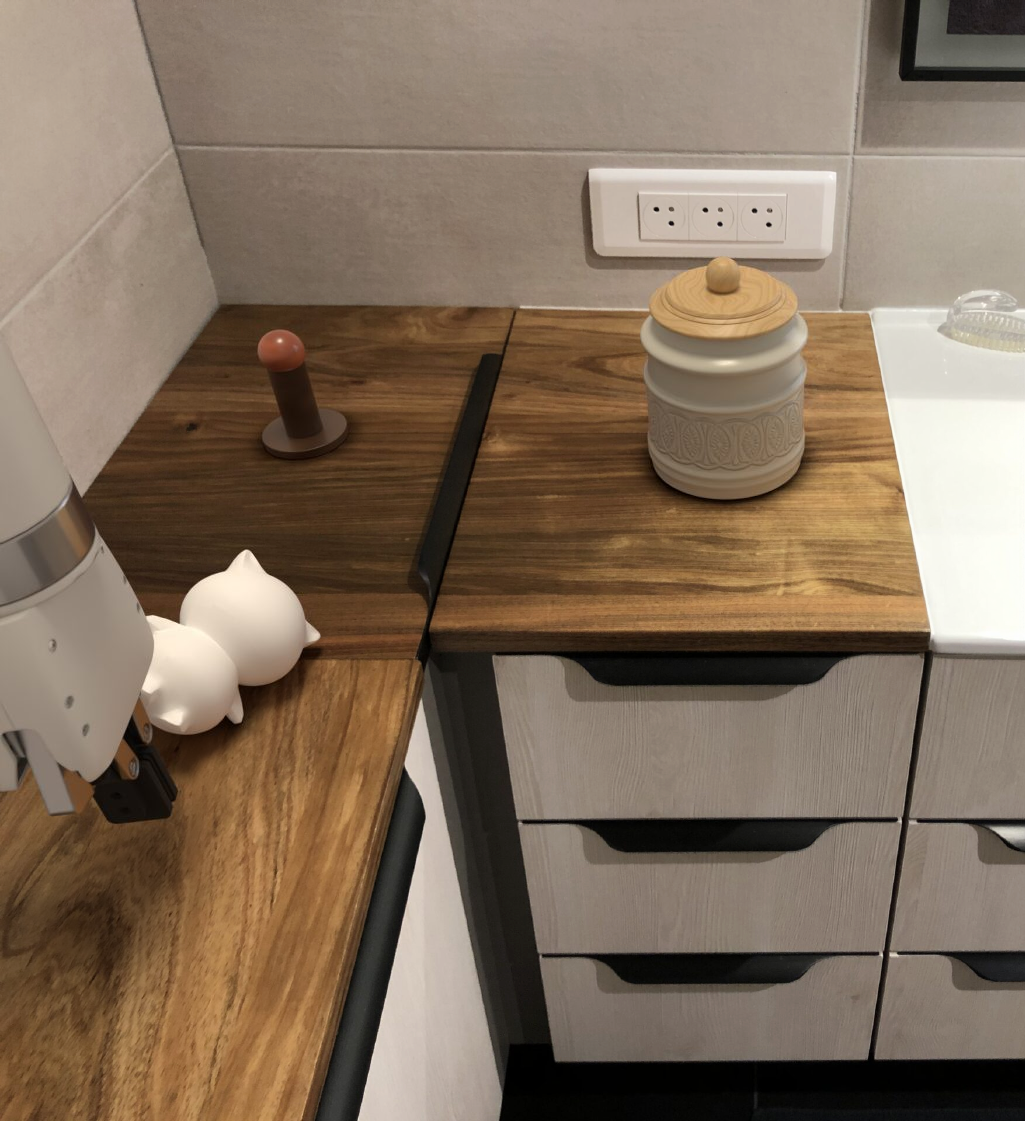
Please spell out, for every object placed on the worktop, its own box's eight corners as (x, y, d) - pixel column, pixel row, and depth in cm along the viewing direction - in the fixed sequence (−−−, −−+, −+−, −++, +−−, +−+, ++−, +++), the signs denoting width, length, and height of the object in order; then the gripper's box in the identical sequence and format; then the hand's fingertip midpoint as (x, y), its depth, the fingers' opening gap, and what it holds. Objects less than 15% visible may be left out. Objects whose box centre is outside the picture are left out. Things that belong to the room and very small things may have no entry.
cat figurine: (115, 652, 63) (270, 528, 71) (48, 673, 70) (197, 558, 78) (220, 764, 66) (358, 633, 74) (147, 774, 73) (280, 653, 81)
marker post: (283, 469, 93) (248, 362, 87) (251, 434, 98) (216, 329, 91) (362, 439, 97) (334, 334, 91) (328, 407, 101) (300, 304, 95)
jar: (776, 517, 88) (779, 309, 77) (624, 486, 91) (605, 283, 80) (822, 431, 97) (831, 236, 86) (683, 406, 101) (673, 215, 90)
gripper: (-30, 450, 54) (114, 714, 65) (-189, 671, 42) (20, 943, 54) (134, 437, 54) (247, 700, 66) (21, 651, 43) (183, 923, 55)
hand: (145, 808), depth 60 cm, fingers closed
